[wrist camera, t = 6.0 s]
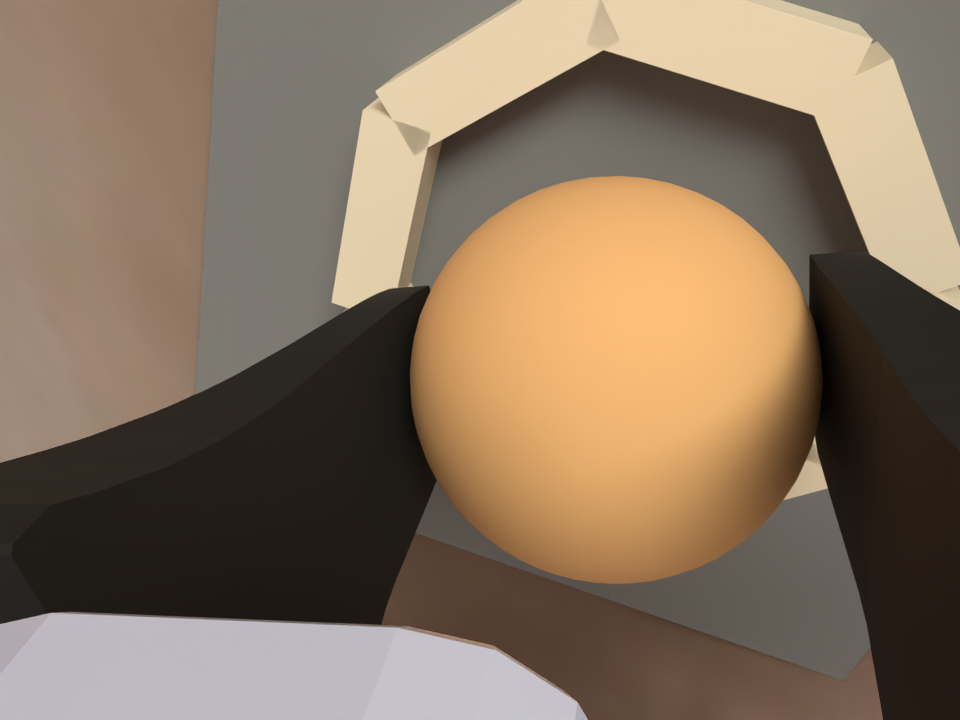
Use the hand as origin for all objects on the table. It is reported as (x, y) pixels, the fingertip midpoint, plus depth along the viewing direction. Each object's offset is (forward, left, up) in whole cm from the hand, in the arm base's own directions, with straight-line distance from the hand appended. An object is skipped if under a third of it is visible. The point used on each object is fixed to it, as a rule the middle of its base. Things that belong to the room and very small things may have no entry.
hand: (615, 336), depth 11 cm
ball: (0, 0, +1) cm, 1 cm away
